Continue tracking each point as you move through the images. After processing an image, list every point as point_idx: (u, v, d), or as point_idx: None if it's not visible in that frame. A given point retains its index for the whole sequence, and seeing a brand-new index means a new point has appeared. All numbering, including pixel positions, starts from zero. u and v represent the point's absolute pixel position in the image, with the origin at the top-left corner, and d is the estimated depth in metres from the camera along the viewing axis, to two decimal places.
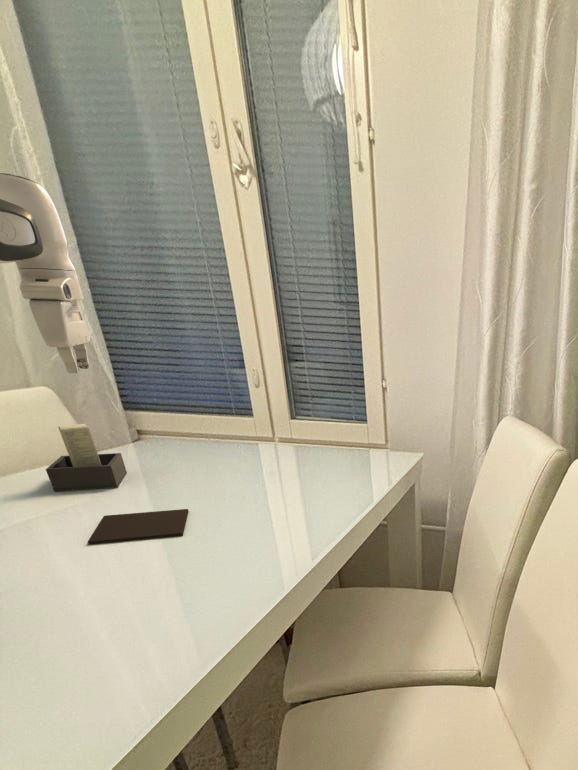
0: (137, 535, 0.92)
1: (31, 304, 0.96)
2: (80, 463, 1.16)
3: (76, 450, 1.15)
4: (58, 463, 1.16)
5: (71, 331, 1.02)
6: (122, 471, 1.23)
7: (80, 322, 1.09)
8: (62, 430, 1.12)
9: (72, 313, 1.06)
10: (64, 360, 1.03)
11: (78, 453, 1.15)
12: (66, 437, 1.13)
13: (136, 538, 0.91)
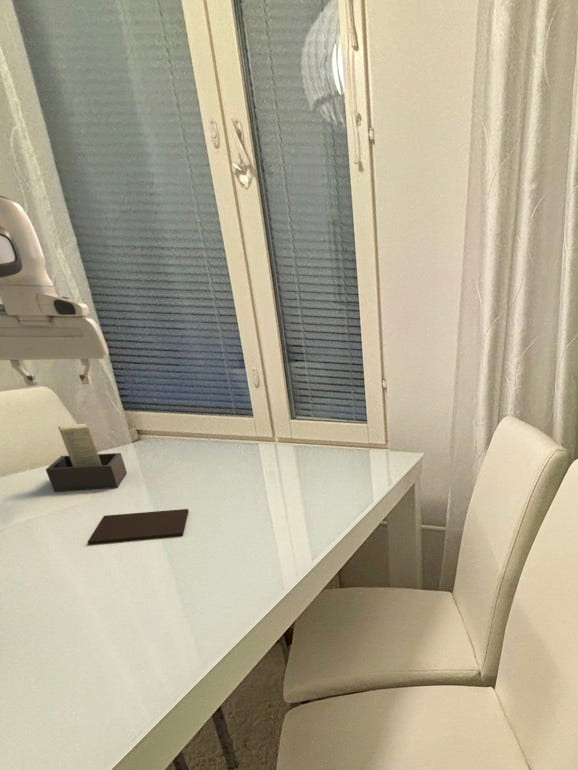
0: (137, 535, 0.92)
1: (89, 321, 1.06)
2: (80, 463, 1.16)
3: (76, 450, 1.15)
4: (58, 463, 1.16)
5: None
6: (122, 471, 1.23)
7: None
8: (62, 430, 1.12)
9: None
10: (88, 372, 1.10)
11: (78, 453, 1.15)
12: (66, 437, 1.13)
13: (136, 538, 0.91)
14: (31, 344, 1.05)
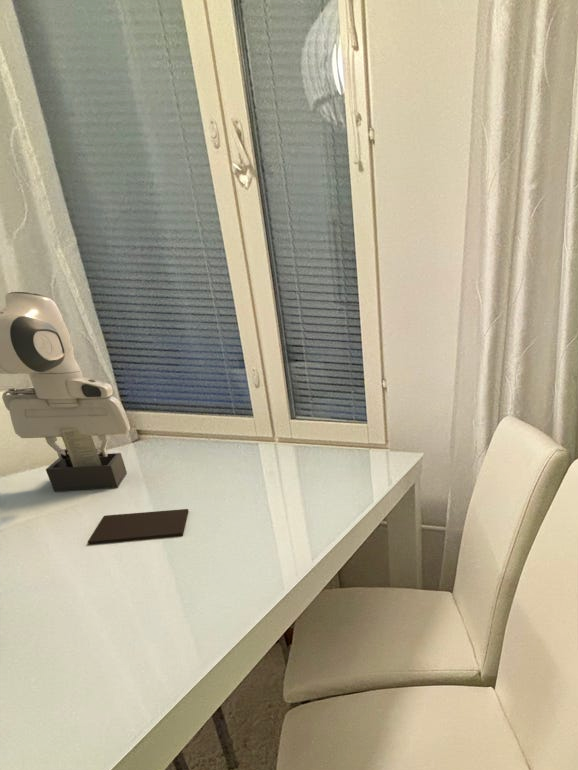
0: (137, 535, 0.92)
1: (113, 401, 1.13)
2: (80, 463, 1.16)
3: (76, 450, 1.15)
4: (58, 463, 1.16)
5: None
6: (122, 471, 1.23)
7: None
8: (62, 430, 1.12)
9: None
10: (105, 446, 1.17)
11: (78, 453, 1.15)
12: (66, 437, 1.13)
13: (136, 538, 0.91)
14: (59, 423, 1.12)
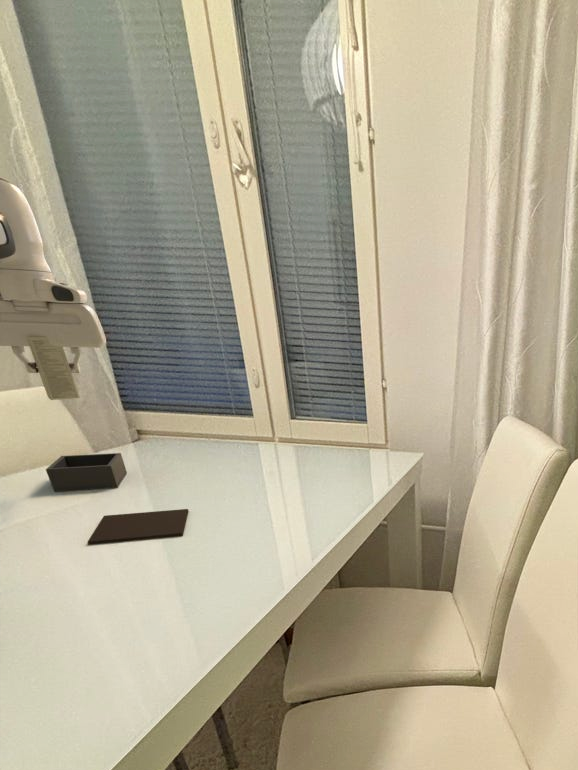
0: (137, 535, 0.92)
1: (87, 308, 1.03)
2: (50, 377, 1.06)
3: (46, 362, 1.05)
4: (58, 463, 1.16)
5: None
6: (122, 471, 1.23)
7: None
8: (30, 338, 1.02)
9: None
10: (78, 360, 1.08)
11: (48, 365, 1.05)
12: (34, 346, 1.03)
13: (136, 538, 0.91)
14: (27, 330, 1.02)
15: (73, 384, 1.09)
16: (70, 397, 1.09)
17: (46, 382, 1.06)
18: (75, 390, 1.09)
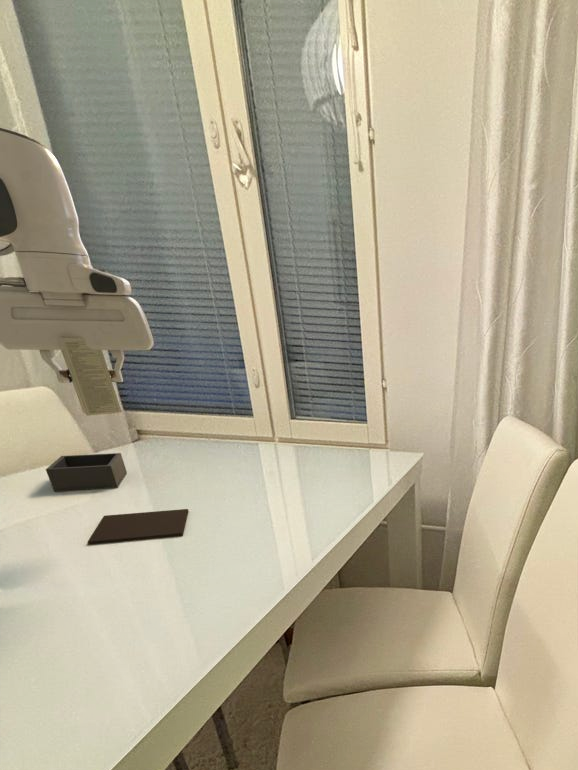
0: (137, 535, 0.92)
1: (132, 301, 0.83)
2: (87, 387, 0.86)
3: (82, 369, 0.84)
4: (58, 463, 1.16)
5: None
6: (122, 471, 1.23)
7: None
8: (62, 339, 0.82)
9: None
10: (120, 366, 0.87)
11: (84, 373, 0.85)
12: (67, 349, 0.82)
13: (136, 538, 0.91)
14: (59, 329, 0.82)
15: (114, 396, 0.88)
16: (110, 412, 0.89)
17: (82, 394, 0.86)
18: (116, 403, 0.89)
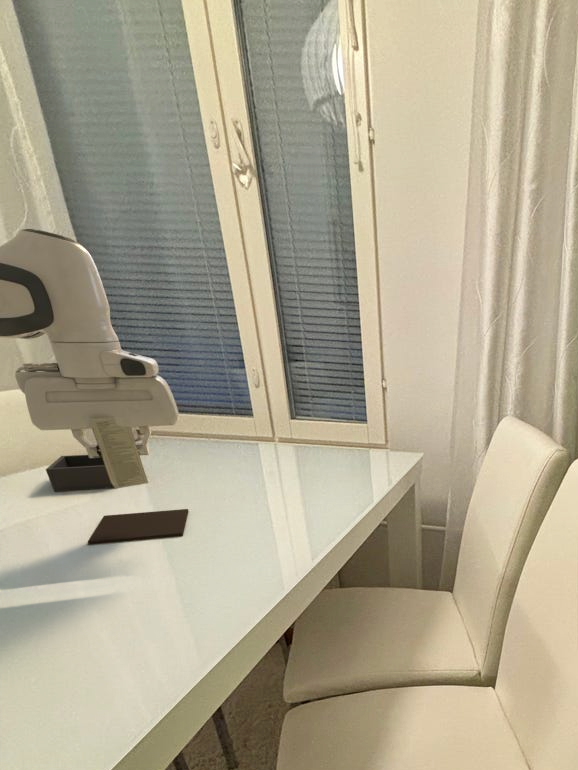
0: (137, 535, 0.92)
1: (160, 381, 0.86)
2: (116, 462, 0.89)
3: (111, 446, 0.88)
4: (58, 463, 1.16)
5: None
6: None
7: None
8: (93, 419, 0.85)
9: None
10: (147, 441, 0.90)
11: (114, 449, 0.88)
12: (98, 428, 0.86)
13: (136, 538, 0.91)
14: (90, 410, 0.85)
15: (141, 468, 0.91)
16: (137, 483, 0.92)
17: (111, 469, 0.89)
18: (143, 475, 0.92)
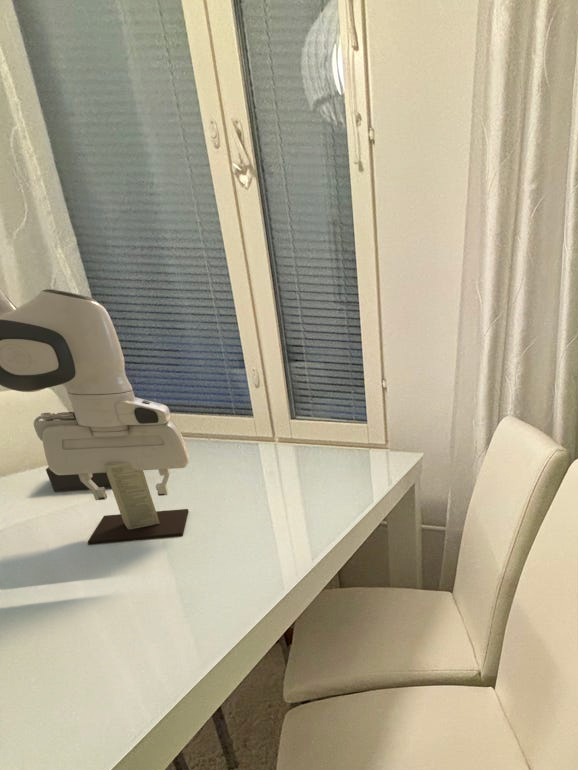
0: (137, 535, 0.92)
1: (172, 428, 0.90)
2: (129, 505, 0.93)
3: (125, 490, 0.91)
4: None
5: None
6: None
7: None
8: (108, 466, 0.88)
9: None
10: (166, 482, 0.94)
11: (127, 493, 0.92)
12: (113, 474, 0.89)
13: (136, 538, 0.91)
14: (104, 456, 0.88)
15: (153, 510, 0.95)
16: (149, 524, 0.96)
17: (125, 512, 0.93)
18: (155, 516, 0.96)
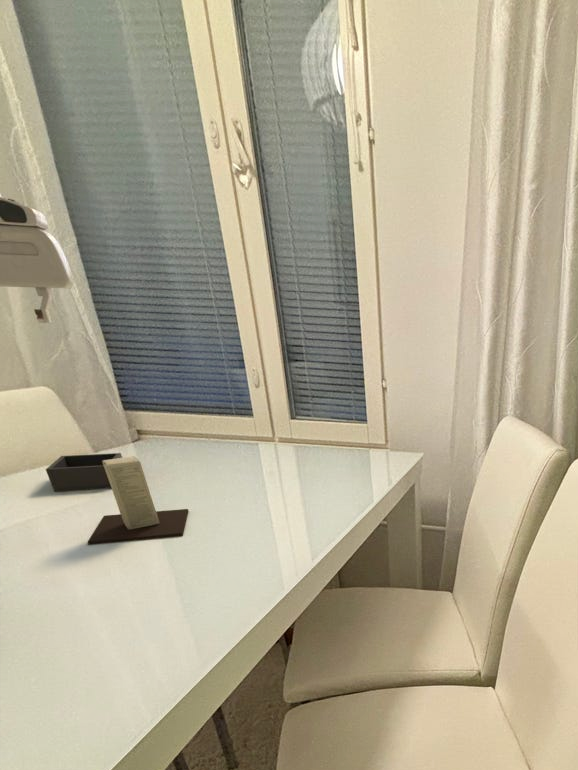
0: (137, 535, 0.92)
1: (45, 233, 0.79)
2: (129, 505, 0.92)
3: (125, 490, 0.91)
4: (58, 463, 1.16)
5: None
6: None
7: None
8: (108, 466, 0.88)
9: None
10: (47, 305, 0.84)
11: (127, 493, 0.92)
12: (112, 474, 0.89)
13: (136, 538, 0.91)
14: None
15: (153, 510, 0.95)
16: (149, 524, 0.96)
17: (125, 512, 0.92)
18: (155, 516, 0.96)
